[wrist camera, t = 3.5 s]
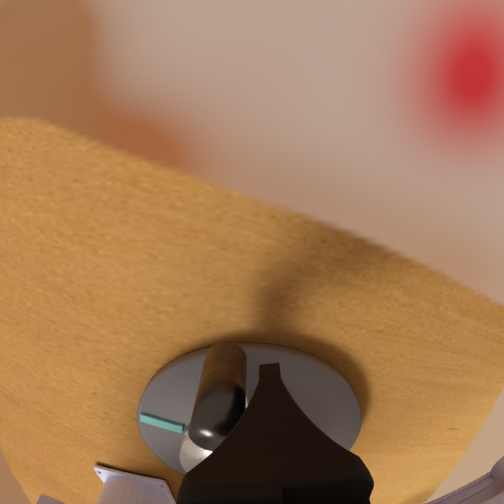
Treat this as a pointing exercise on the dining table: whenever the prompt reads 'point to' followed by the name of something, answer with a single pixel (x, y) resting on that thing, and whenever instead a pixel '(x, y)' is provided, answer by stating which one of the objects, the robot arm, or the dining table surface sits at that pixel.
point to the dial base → (292, 374)
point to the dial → (216, 402)
